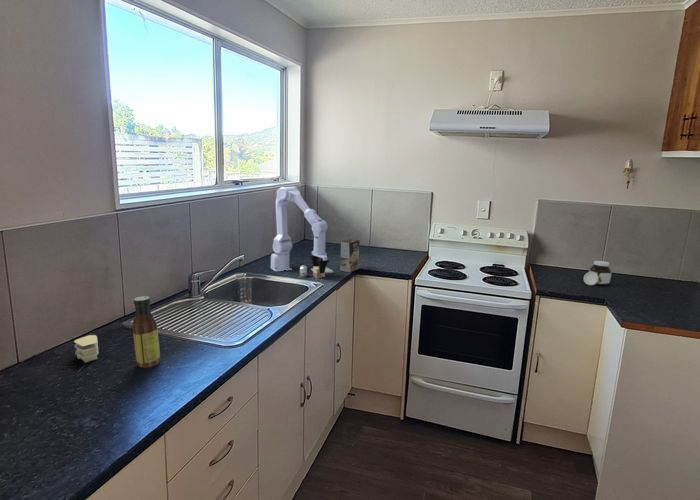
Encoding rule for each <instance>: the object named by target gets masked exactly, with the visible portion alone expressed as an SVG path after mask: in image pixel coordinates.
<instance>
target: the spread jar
mask: <svg viewBox="0 0 700 500" xmlns="http://www.w3.org/2000/svg"><path fill="white" fill-rule="evenodd" d="M611 278H612V270H611V268H610V262H609V261H605V260H594V261H593V264H592V265H591V266H590V267H589V271H588V272H586V273H585V274H584V275H583V282H584V284H585V285H588V286H594V285H595V286H600V287H606V286H607V285H609V284H610V281H611Z"/></svg>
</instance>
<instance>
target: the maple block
mask: <svg viewBox="0 0 700 500" xmlns="http://www.w3.org/2000/svg"><path fill="white" fill-rule="evenodd" d="M312 268H313V271H312V277H313V276H314V278H316V279H323V278H322V277H326V275H325V274H326V273H325V272H324V273H320V270H319V266H316V267H313V266H312Z"/></svg>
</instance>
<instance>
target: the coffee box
mask: <svg viewBox="0 0 700 500" xmlns="http://www.w3.org/2000/svg"><path fill="white" fill-rule="evenodd" d="M359 255H360V240H358V239H351V238H350V239H346V240H342V241H340V263H339V264H340V265H339V271H341V272H347V273H351V272H354V271H357V270H359V257H360V256H359Z"/></svg>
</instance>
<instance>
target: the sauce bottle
mask: <svg viewBox="0 0 700 500" xmlns="http://www.w3.org/2000/svg"><path fill="white" fill-rule="evenodd" d="M150 303H151V298H150V296H148V295H147V296H146V295H145V296H143V295H142V296H138V297H137V296H136V297H134V298H133V305H134V308H135V316H134V318H133V320H132V333H133V334H132V335H133V343H134V352H135V361H136V363H137V367H139V368H142V369H148V368H152V367H155V366H158V365H159V363H160V362H161V350H160V341H159V333H158V325H157V323H156V320H155V319H154V316H153V315H152V312H151V305H150Z"/></svg>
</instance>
